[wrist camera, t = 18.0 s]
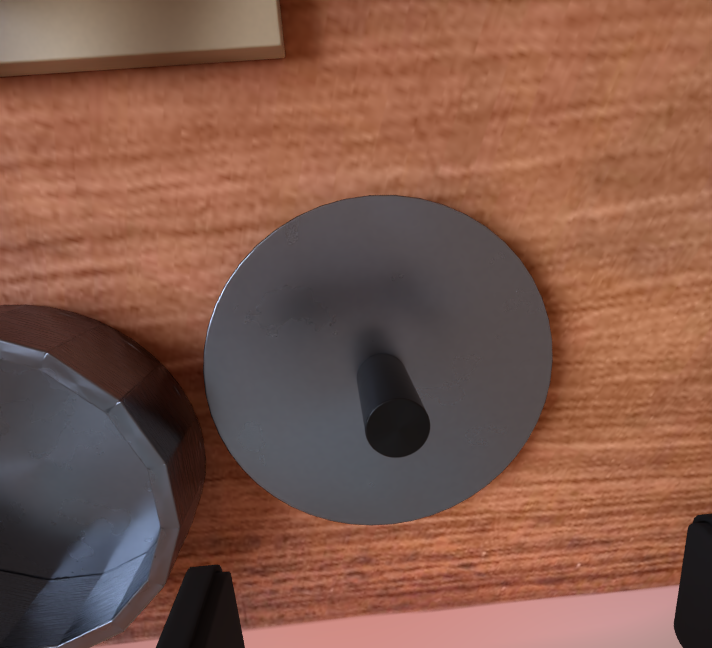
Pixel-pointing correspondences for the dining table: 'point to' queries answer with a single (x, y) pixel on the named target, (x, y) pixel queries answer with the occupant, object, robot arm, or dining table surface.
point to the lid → (377, 360)
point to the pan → (87, 478)
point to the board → (134, 34)
